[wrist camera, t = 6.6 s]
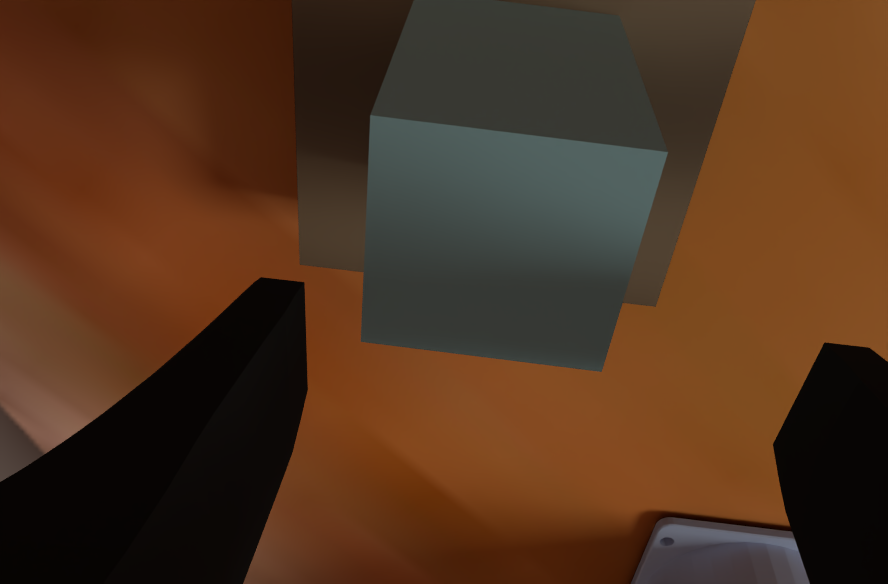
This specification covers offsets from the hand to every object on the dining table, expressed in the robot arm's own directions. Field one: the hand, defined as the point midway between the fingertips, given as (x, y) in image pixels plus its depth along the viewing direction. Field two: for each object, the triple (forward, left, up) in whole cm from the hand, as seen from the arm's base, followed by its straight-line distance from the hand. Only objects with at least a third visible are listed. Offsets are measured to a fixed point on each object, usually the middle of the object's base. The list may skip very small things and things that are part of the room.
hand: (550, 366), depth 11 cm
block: (+1, +1, -7) cm, 7 cm away
